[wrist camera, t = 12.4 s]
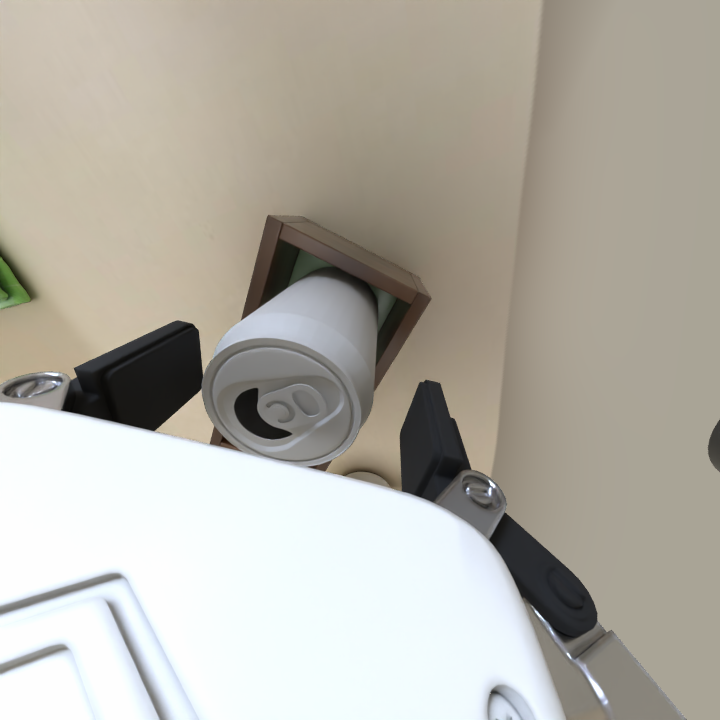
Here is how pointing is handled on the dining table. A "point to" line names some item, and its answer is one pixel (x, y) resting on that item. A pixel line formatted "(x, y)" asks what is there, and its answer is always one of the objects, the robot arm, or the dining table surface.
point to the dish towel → (10, 288)
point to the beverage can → (298, 371)
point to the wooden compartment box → (326, 249)
